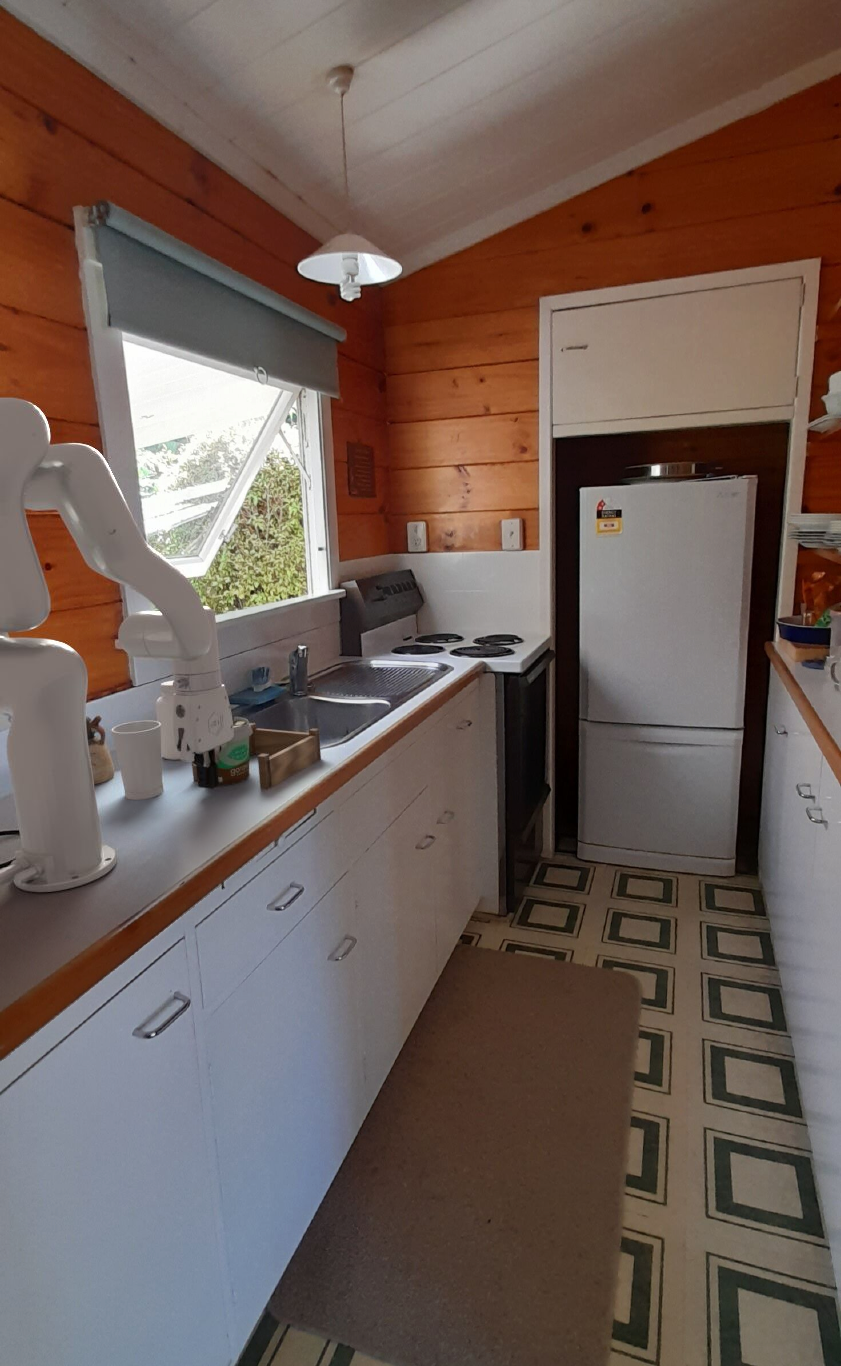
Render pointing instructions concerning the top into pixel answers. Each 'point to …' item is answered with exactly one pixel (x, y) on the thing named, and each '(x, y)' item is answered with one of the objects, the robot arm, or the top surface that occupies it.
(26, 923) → the top surface
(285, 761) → the crate
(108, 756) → the figurine
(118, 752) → the cup
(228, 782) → the food container
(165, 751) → the pill bottle
